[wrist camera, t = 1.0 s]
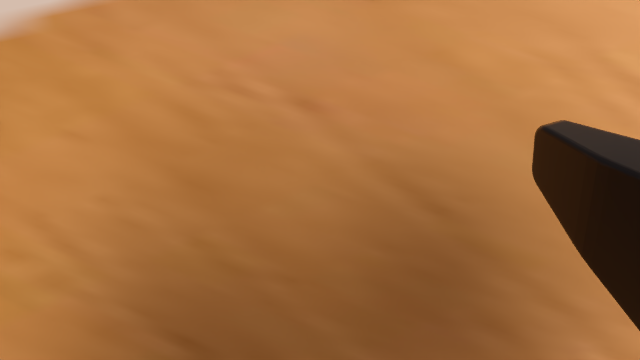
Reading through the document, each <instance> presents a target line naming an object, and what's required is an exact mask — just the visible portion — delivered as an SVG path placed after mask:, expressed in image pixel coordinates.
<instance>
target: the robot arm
mask: <svg viewBox="0 0 640 360" xmlns="http://www.w3.org/2000/svg"><path fill="white" fill-rule="evenodd" d="M532 172H533V177H534V180H535V182H536V184H537V186H538V187H539V189H540V191H541V192H542V194H543V195H544V197H545V199H546V200H547V202H548V204H549V205H550V207H551V208H552V210H553V212H554V213H555V215H556V217H557V218H558V220H559V221H560V223H561V225H562V226H563V228H564V230H565V231H566V233H567V234H568V236H569V238H570V239H571V241H572V243H573V244H574V246H575V247H576V249H577V250H578V252H579V253H580V255H581V256H582V258H583V259H584V260H585V262H586V263H587V264H588V266H589V267H590V268H591V270H592V271H593V272H594V273H595V275H596V276H597V277H598V278H599V280H600V281H601V282H602V284H603V285H604V286H605V287H606V289H607V290H608V291H609V292H610V294H611V295H612V296H613V298H614V299H615V300H616V301H617V303H618V304H619V305H620V306H621V308H622V309H623V310H624V312H625V313H626V314H627V315H628V317H629V318H630V319H631V320H632V322H633V323H634V324H635V326H636V327H637V328H638V329H639V331H640V140H638V139H634V138H630V137H627V136H623V135H619V134H615V133H611V132H607V131H604V130H600V129H596V128H592V127H588V126H585V125H581V124H577V123H573V122H569V121H565V120H561V121H557V122H553V123H549V124H546V125H542V126H540V127H539V128H538V129H537V131H536V133H535V139H534V151H533V163H532Z"/></svg>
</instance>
